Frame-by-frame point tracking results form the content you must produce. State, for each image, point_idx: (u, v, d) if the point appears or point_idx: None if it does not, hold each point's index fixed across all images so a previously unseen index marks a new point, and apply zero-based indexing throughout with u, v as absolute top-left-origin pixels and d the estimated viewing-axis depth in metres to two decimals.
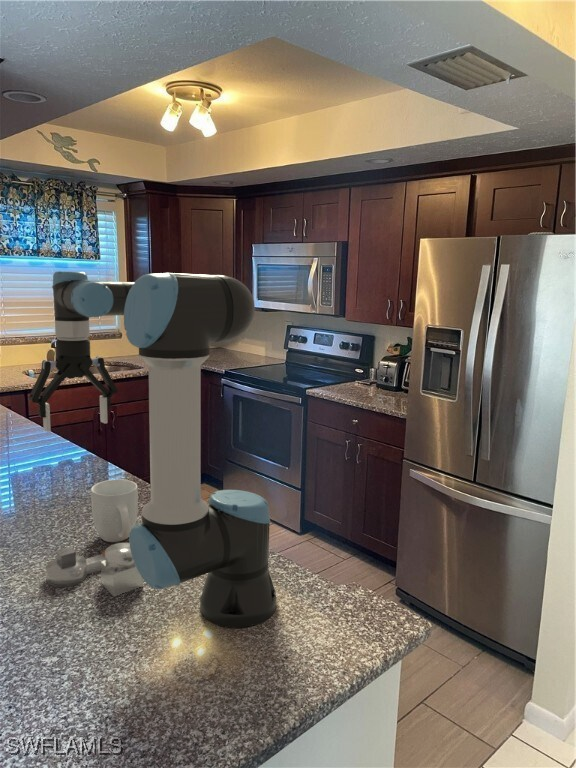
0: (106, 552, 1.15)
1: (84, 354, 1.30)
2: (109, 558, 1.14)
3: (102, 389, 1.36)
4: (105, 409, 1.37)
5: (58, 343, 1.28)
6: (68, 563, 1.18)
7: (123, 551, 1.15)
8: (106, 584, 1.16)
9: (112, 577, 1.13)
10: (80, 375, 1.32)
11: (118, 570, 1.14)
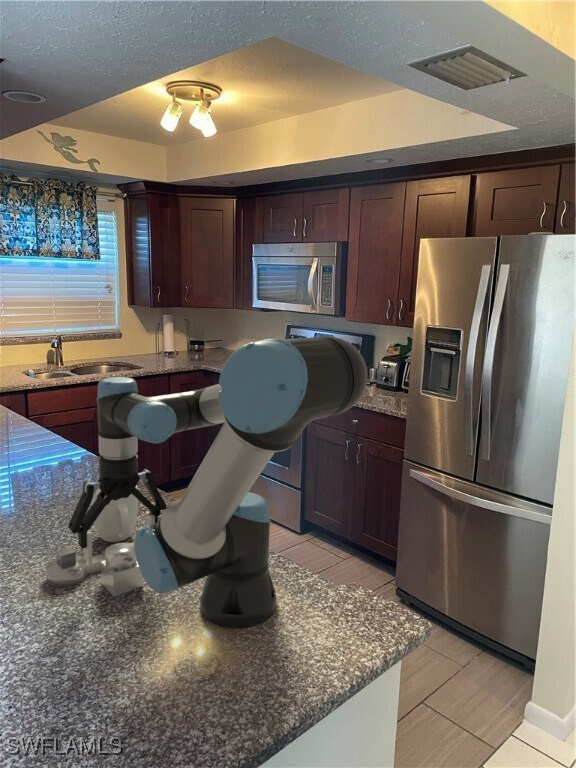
0: (106, 552, 1.15)
1: (132, 474, 1.11)
2: (109, 558, 1.14)
3: (150, 507, 1.18)
4: None
5: (102, 463, 1.10)
6: (68, 563, 1.18)
7: (123, 551, 1.15)
8: (106, 584, 1.16)
9: (112, 577, 1.13)
10: (126, 495, 1.14)
11: (118, 570, 1.14)
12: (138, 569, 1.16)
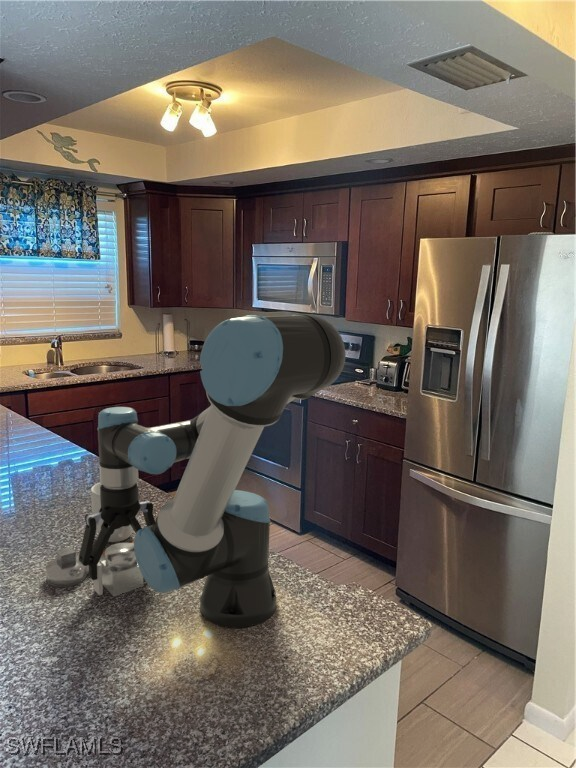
0: (106, 552, 1.15)
1: (133, 502, 1.12)
2: (109, 558, 1.14)
3: None
4: None
5: (103, 492, 1.11)
6: (68, 563, 1.18)
7: (123, 551, 1.15)
8: (106, 584, 1.16)
9: (112, 577, 1.13)
10: (127, 523, 1.15)
11: (118, 570, 1.14)
12: (138, 569, 1.16)
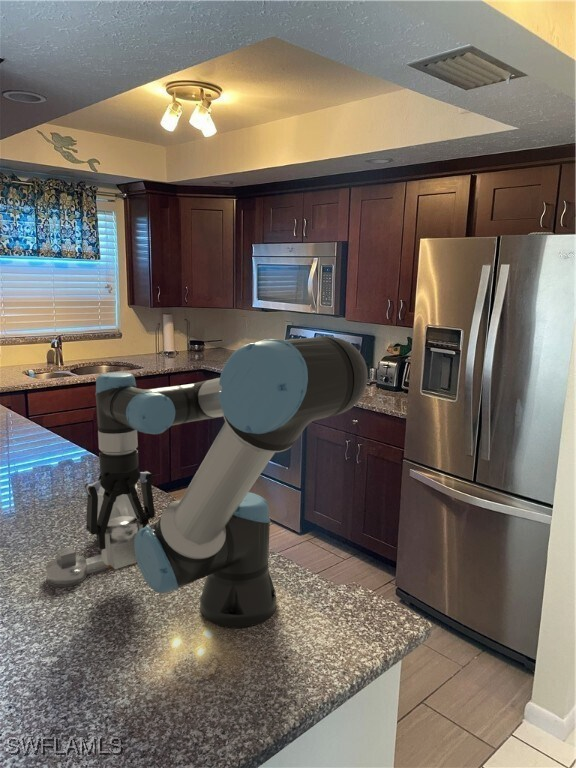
0: None
1: (132, 469, 1.11)
2: (109, 530, 1.12)
3: (140, 513, 1.16)
4: None
5: (103, 458, 1.09)
6: (68, 563, 1.18)
7: (124, 523, 1.14)
8: None
9: (113, 549, 1.11)
10: (127, 491, 1.13)
11: (119, 542, 1.12)
12: None
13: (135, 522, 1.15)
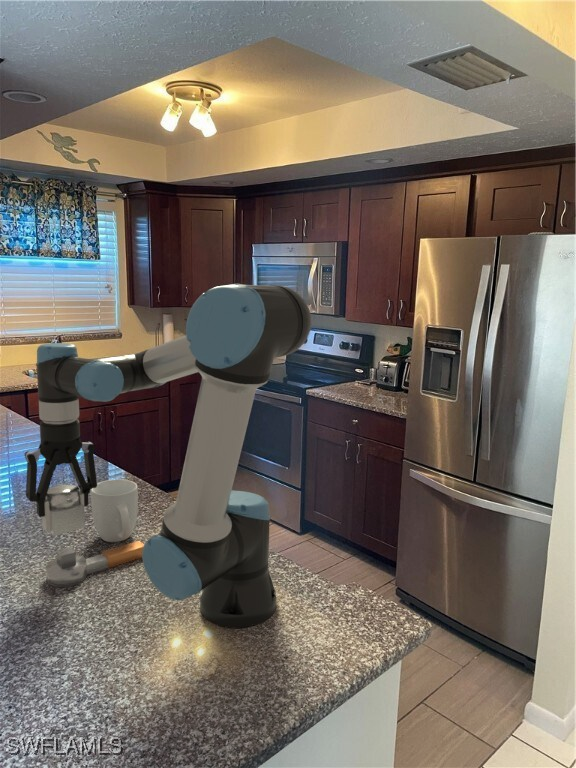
0: (47, 492, 1.15)
1: (72, 438, 1.13)
2: (49, 497, 1.14)
3: (81, 482, 1.18)
4: None
5: (42, 427, 1.11)
6: (68, 563, 1.18)
7: (64, 492, 1.16)
8: None
9: (51, 516, 1.13)
10: (68, 460, 1.15)
11: (58, 509, 1.14)
12: (79, 510, 1.16)
13: (76, 491, 1.16)
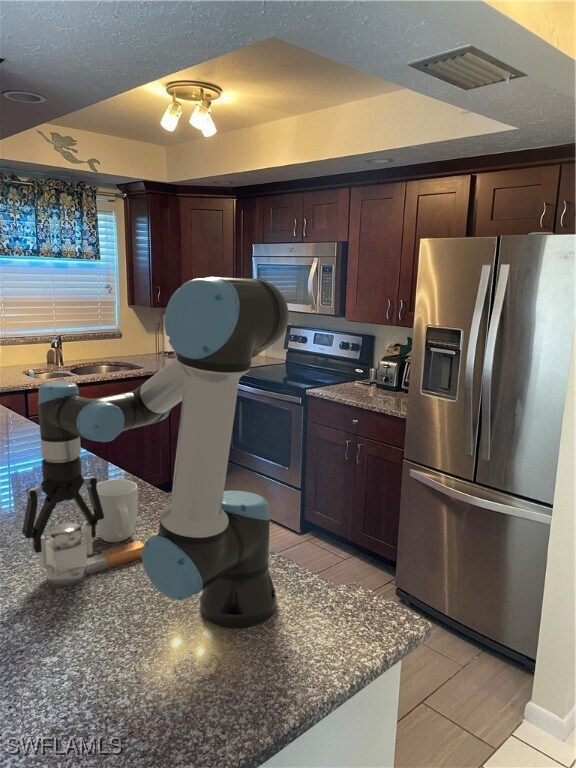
0: (49, 531, 1.17)
1: (74, 476, 1.14)
2: (51, 537, 1.15)
3: (88, 515, 1.20)
4: (89, 539, 1.21)
5: (44, 465, 1.12)
6: None
7: (67, 531, 1.17)
8: (50, 563, 1.18)
9: (54, 556, 1.15)
10: (70, 497, 1.17)
11: (60, 549, 1.15)
12: (81, 548, 1.18)
13: (78, 529, 1.18)
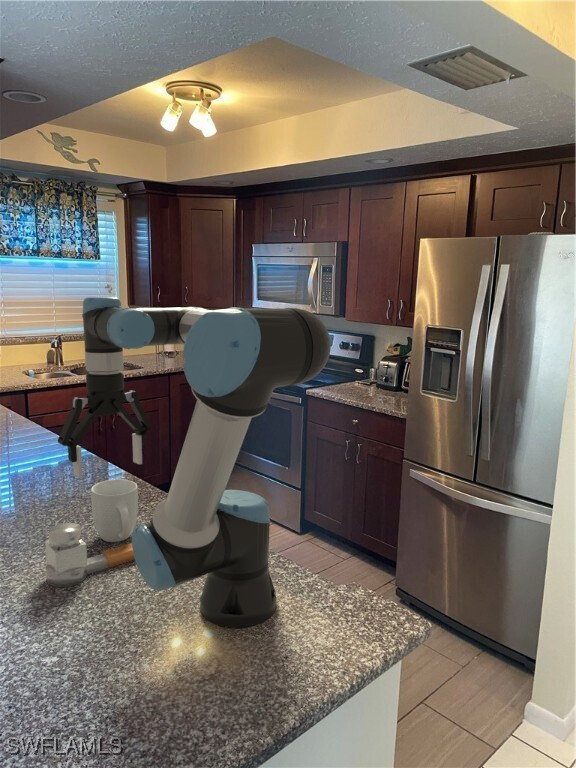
0: (49, 531, 1.17)
1: (119, 389, 1.16)
2: (51, 537, 1.15)
3: (136, 426, 1.22)
4: (140, 448, 1.23)
5: (90, 378, 1.14)
6: None
7: (67, 531, 1.17)
8: (50, 563, 1.18)
9: (54, 556, 1.15)
10: (113, 412, 1.18)
11: (60, 549, 1.15)
12: (81, 548, 1.18)
13: (78, 529, 1.18)
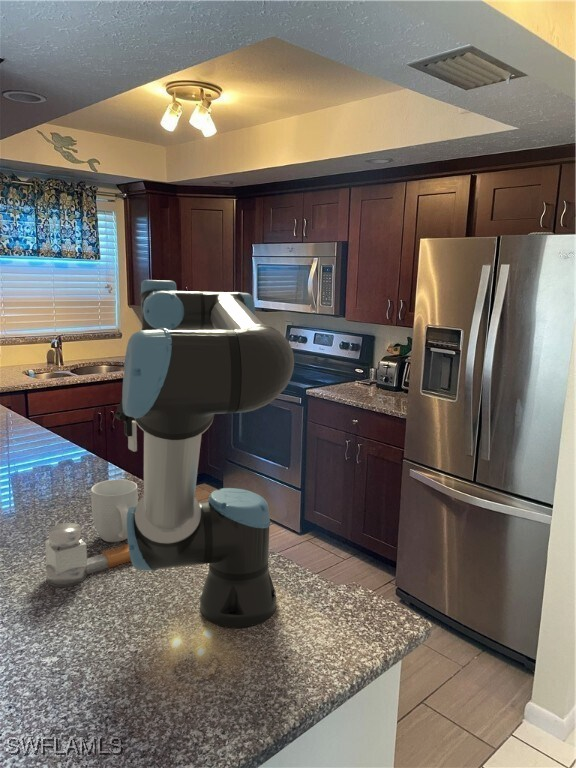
0: (49, 531, 1.17)
1: None
2: (51, 537, 1.15)
3: None
4: None
5: None
6: None
7: (67, 531, 1.17)
8: (50, 563, 1.18)
9: (54, 556, 1.15)
10: None
11: (60, 549, 1.15)
12: (81, 548, 1.18)
13: (78, 529, 1.18)
